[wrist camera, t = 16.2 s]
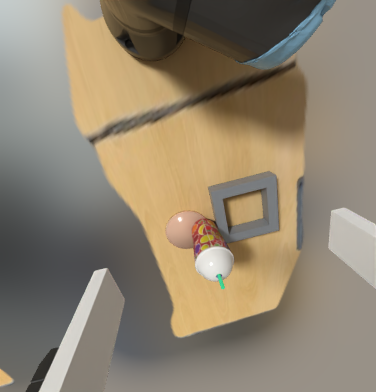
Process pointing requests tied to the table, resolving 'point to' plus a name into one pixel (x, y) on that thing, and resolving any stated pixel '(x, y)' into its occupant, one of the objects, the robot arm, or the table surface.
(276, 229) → the holder
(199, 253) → the smoothie
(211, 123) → the table surface
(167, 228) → the pink flat disc
